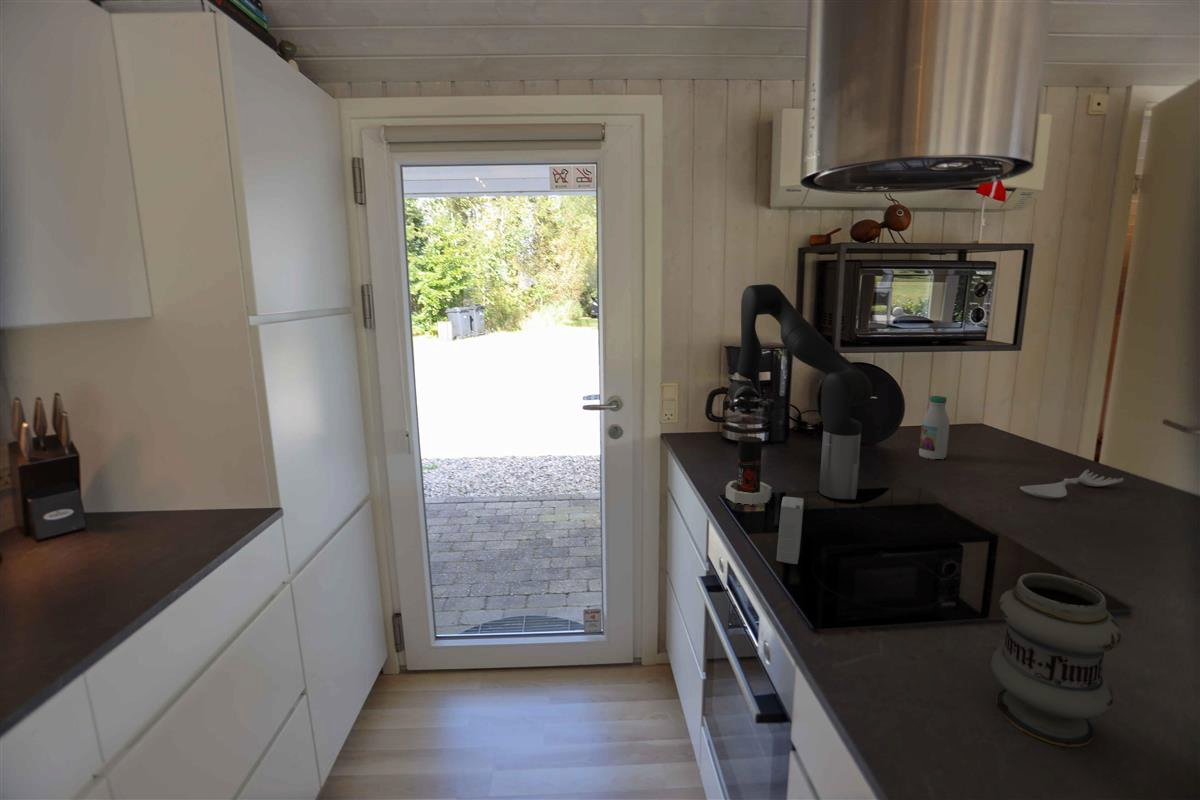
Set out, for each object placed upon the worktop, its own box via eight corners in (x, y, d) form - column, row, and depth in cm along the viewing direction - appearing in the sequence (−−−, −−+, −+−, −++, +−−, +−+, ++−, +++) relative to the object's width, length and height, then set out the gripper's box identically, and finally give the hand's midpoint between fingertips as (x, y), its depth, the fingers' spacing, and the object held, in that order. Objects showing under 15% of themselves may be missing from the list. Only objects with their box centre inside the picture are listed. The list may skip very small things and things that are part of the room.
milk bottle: (938, 453, 188) (945, 394, 185) (950, 460, 181) (957, 399, 177) (914, 453, 189) (920, 394, 185) (925, 460, 182) (931, 398, 178)
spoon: (1123, 489, 154) (1125, 477, 154) (1047, 505, 143) (1049, 492, 143) (1085, 479, 163) (1087, 467, 162) (1010, 494, 151) (1012, 482, 151)
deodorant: (763, 493, 150) (766, 438, 147) (752, 499, 146) (755, 443, 143) (743, 488, 154) (745, 435, 151) (732, 494, 150) (734, 439, 147)
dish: (773, 494, 152) (773, 483, 152) (765, 507, 143) (765, 496, 142) (732, 488, 157) (733, 477, 157) (722, 501, 148) (722, 490, 147)
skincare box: (778, 549, 120) (781, 495, 118) (800, 552, 118) (804, 497, 116) (775, 562, 114) (778, 505, 112) (799, 565, 113) (802, 508, 110)
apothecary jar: (967, 682, 79) (982, 563, 75) (1059, 687, 78) (1079, 566, 74) (1022, 751, 67) (1043, 613, 64) (1132, 758, 66) (1159, 618, 62)
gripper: (723, 387, 173) (723, 395, 157) (771, 387, 170) (776, 395, 154) (723, 411, 174) (723, 421, 159) (771, 412, 171) (776, 422, 156)
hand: (749, 408), depth 157 cm, fingers open, 8 cm apart
